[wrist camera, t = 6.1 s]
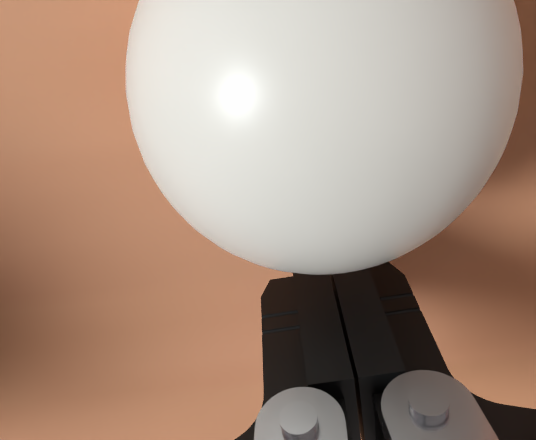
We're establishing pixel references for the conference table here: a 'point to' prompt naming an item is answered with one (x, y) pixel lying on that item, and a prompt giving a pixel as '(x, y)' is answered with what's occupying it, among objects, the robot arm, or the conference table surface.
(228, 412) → the conference table surface
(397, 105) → the white cue ball
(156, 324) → the conference table surface
